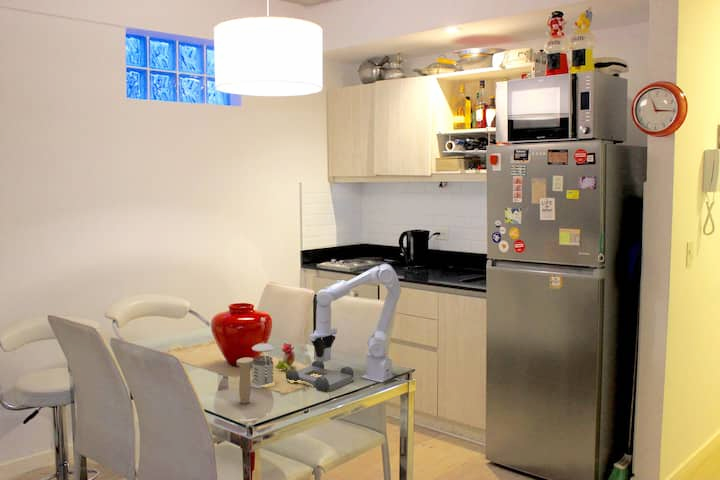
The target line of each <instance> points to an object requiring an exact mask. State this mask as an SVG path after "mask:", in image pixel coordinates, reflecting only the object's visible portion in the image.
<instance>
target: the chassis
mask: <svg viewBox="0 0 720 480" xmlns="http://www.w3.org/2000/svg"><path fill="white" fill-rule="evenodd" d="M313 373H314V374H318V375H322V376H321V377H314V376H310V375H311V374H313ZM285 378H286V380H287V379H289V380H294V381H297V380H301V381H305V382H308V383H310V384H312V385H313V387H312V388H315V389H316V390H318V391H319V392H323V391H326V392H332V391H335V390H336V389H337V390H338V389H339V388H341V387H344V386H346V385H348V384H351V383H353V378H354V370H353V369H352V367H350V366H344V367H343V368H341V370H340V372H339V371H335V370H330V369H327V368H325V362H322V361H318V360H314V361H313V362H312V364H311V365H308V366H307V367H303V368H301V369H298V370H296V369H293V368H291V370H286V373H285Z"/></svg>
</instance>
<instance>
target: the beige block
mask: <svg viewBox="0 0 720 480" xmlns="http://www.w3.org/2000/svg"><path fill="white" fill-rule="evenodd" d="M313 350H314V351H313V360H314V361H316V360H318V361H322V362H323V363H326V362H328V361H330V360H331V359H332V355H331V354H332V346H331V347H329V346H323V353H322V357H317V356H316V351H315V348H314V349H313Z"/></svg>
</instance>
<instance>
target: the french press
mask: <svg viewBox="0 0 720 480" xmlns="http://www.w3.org/2000/svg"><path fill="white" fill-rule="evenodd" d="M260 322H262V324H264V323H265V322H267V321H266V318H265V317H262V318H260ZM251 349H252V351H253V352H258V353H268V352H271V351H273V350H274V349H275V347H274V346H273V345H271V344H270V343H265V342H261V343H260V342H259V343H258V344H255V345H253V346H252V347H251ZM252 358H253V359H254V362H253V364H252V365H251V367H252V368H251V369H252V370H251V371H252V373H251V374H252V375H251V377H252V379H251V381H252V382H251V388H257V389H262V388H261V385H265V384H269V383H272V382H273V381H274V361H273V357H272V356H270V354H269V353H268V355H265V354H263V355H257V356H254V357H252Z"/></svg>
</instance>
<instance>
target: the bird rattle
mask: <svg viewBox="0 0 720 480" xmlns="http://www.w3.org/2000/svg"><path fill="white" fill-rule="evenodd" d="M294 348H295V347H294V346H292V343H285V342H283V347H282V348H281V351H282V352H283V353H284V355H283V358H282V360H281V359H279V360H278V362H277V364H276V365H275V368H276V369H277V370H279V369H283V370H284V369H285V370H286V369H287V370H286V371H288V370H291V369H292V366H293V364H294V362H295V357H296V355H295V352H294V351H293V350H294ZM290 367H291V368H290Z"/></svg>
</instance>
